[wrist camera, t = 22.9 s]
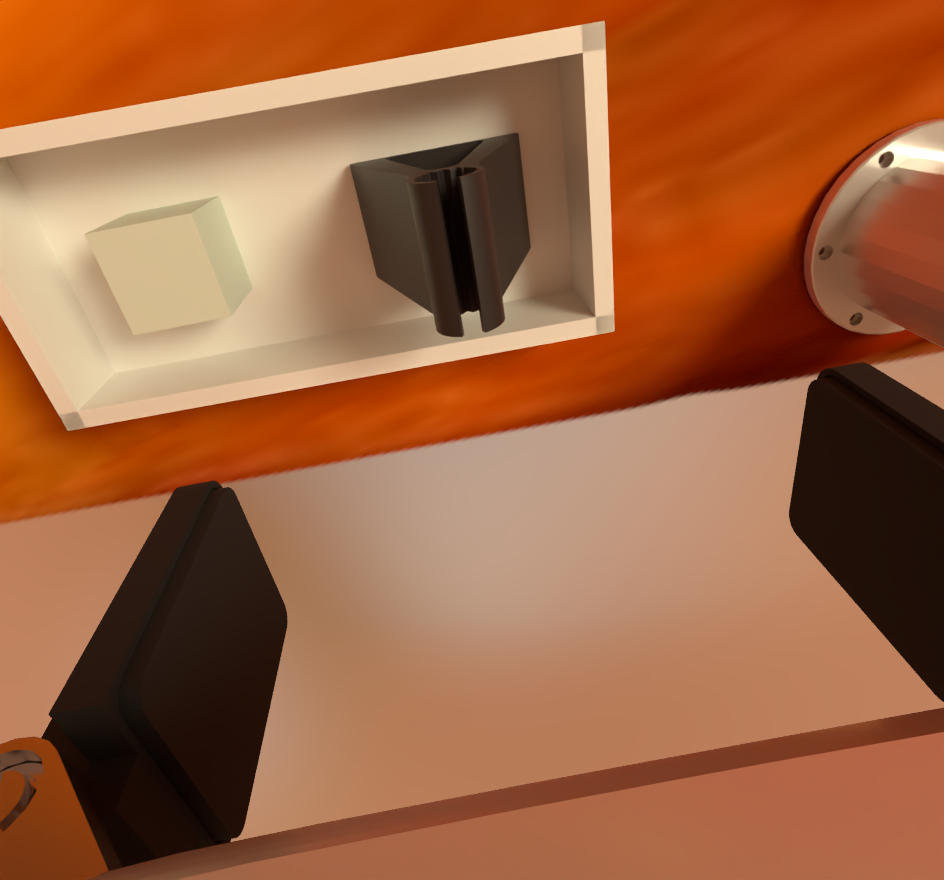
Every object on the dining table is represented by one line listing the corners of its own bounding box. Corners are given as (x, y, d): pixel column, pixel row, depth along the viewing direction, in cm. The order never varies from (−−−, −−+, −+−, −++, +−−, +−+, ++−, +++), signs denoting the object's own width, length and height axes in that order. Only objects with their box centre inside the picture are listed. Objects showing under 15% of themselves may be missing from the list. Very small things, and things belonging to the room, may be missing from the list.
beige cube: (219, 195, 32) (191, 213, 28) (252, 287, 35) (231, 316, 30) (126, 213, 32) (84, 234, 28) (167, 304, 35) (133, 335, 30)
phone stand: (517, 132, 32) (572, 156, 22) (529, 247, 35) (582, 315, 25) (349, 162, 32) (323, 201, 21) (376, 274, 35) (364, 355, 25)
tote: (570, 31, 31) (604, 20, 25) (585, 297, 38) (614, 331, 33) (-14, 136, 30) (-98, 147, 25) (113, 383, 38) (68, 430, 33)
